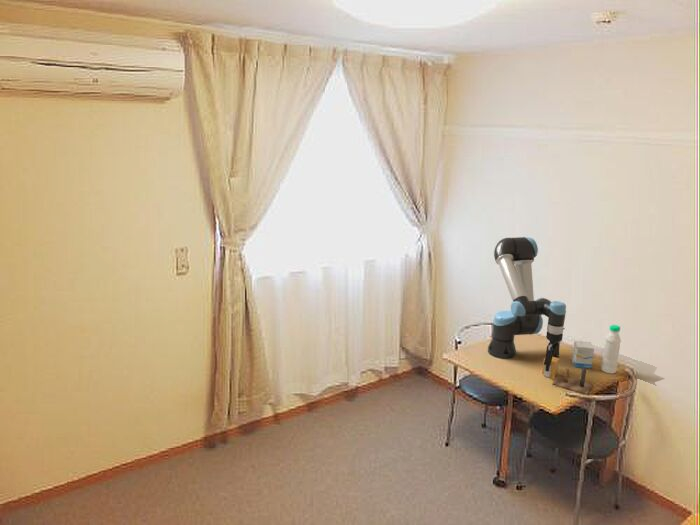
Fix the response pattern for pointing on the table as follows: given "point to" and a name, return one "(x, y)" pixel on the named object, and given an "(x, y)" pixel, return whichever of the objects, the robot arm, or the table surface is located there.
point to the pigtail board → (573, 382)
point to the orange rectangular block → (552, 366)
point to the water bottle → (611, 350)
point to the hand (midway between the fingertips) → (550, 372)
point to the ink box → (582, 354)
